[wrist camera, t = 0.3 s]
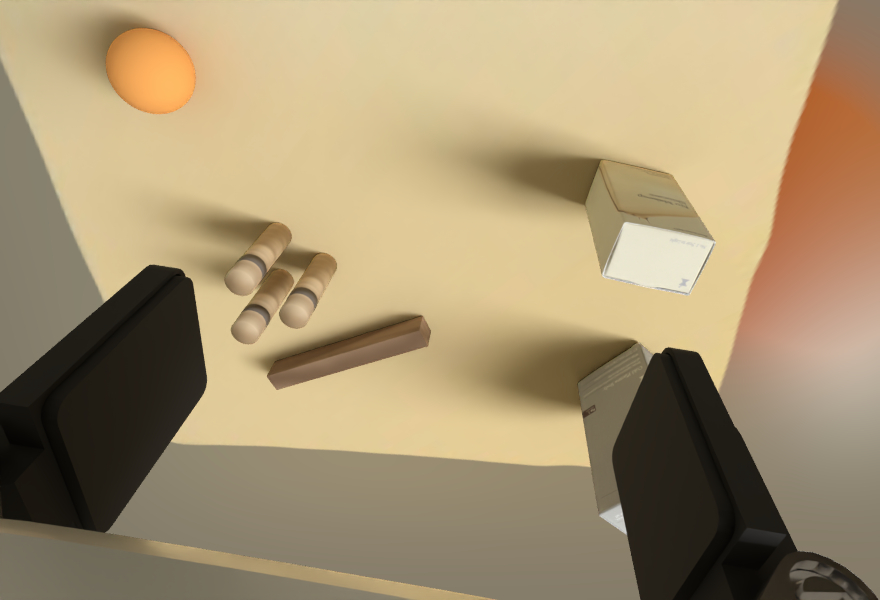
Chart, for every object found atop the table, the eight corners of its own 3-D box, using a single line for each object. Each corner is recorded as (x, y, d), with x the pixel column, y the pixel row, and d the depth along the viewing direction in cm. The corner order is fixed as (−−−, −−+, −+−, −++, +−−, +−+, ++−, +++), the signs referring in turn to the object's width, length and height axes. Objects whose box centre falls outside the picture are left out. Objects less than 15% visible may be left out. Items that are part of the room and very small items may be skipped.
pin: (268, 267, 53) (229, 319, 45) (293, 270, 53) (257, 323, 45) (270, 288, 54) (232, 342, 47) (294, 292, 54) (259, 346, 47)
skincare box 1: (673, 173, 44) (723, 240, 34) (652, 222, 47) (692, 298, 36) (597, 157, 44) (625, 219, 34) (580, 207, 46) (600, 278, 36)
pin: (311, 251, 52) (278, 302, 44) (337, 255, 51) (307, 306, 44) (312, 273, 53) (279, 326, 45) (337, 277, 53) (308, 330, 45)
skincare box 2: (638, 338, 53) (682, 467, 40) (683, 379, 55) (738, 514, 42) (571, 383, 57) (590, 514, 44) (615, 420, 59) (646, 555, 46)
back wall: (275, 361, 60) (266, 376, 57) (422, 315, 54) (419, 330, 52) (284, 374, 60) (276, 389, 58) (430, 331, 55) (427, 346, 53)
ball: (128, 18, 42) (77, 27, 37) (204, 29, 42) (162, 39, 37) (143, 98, 45) (98, 116, 40) (213, 108, 45) (176, 128, 40)
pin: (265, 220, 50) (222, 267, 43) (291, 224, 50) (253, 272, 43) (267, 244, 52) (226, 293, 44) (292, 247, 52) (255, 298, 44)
